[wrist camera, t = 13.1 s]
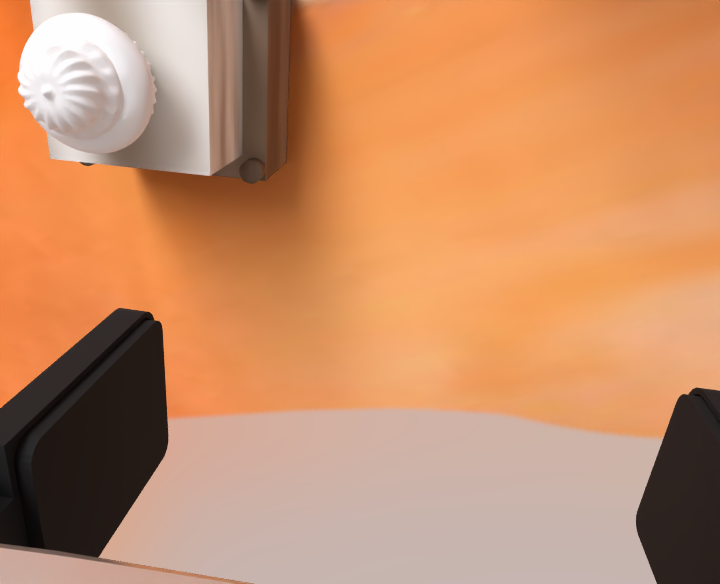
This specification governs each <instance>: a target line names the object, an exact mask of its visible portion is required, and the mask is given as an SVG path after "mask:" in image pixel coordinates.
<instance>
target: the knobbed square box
mask: <svg viewBox="0 0 720 584" xmlns="http://www.w3.org/2000/svg"><path fill="white" fill-rule="evenodd" d="M30 4H31V12H32V20H33V27H34V31H35V30H36V29H37V28H38V27H39V26H40V25H41V24H42V23H43V22H45V21H46V20H48V19H50V18H52V17H54V16H57V15H61V14H66V13H86V14H91V15H94V16H97V17H100V18H102V19H104V20H106V21H108V22H110V23H112V24H113V25H115V26H116V27H117V28H119V29H120V30H121V31H123V32H124V33H126V34H127V35H128V37H129V38H130V39H131V40H132V41H135V42H136V43H137V45H138V47H139V50H140V51H143V52H144V53H145V57H146V61H147V62H149V63H150V64H151V69H150V71H151V74H152V76H154V77H155V81H154V82H153V83H154V85H155V87H156V89H157V91H156V93H154V94H155V98H156V103H155V104H153V110H154V113H153V114H151V117H150V119H149V123H148V124H147V126H146V128H145V130H144V131H143V133H142V134H141V135H140V136H139V137H138V139H137V140H135V141H134V142H133V143H132V144H130V145H129V146H127V147H125V148H123V149H121V150H118V151H115V152H111V153H104V154H93V153H87V152H83V151H79V150H76V149H74V148H71V147H69V146H67V145H65V144H63V143H62V142H60V141H58V140H57V139H55V138H54V137H52V136H51V135H50V134H49V133H48V132H47V137H48V145H49V153H50V159H58V160H67V161H76V162H80V163H81V164H83V165H85V166H90V165H93V164H104V165H114V166H123V167H132V168H141V169H151V170H160V171H169V172H178V173H188V174H197V175H206V176H211V175H215V176H224V177H233V178H242V179H243V180H244V181H245V182H247V183H256V182H257V181H259V180H261V181H266V180H267V179H268V178H269V177H270V176H271V175H273V174H274V173H275V172H276V171H277V170H278V169H279V168H280V167H281V166H283V165H284V164H285V163H286V153H287V121H288V89H289V57H290V25H291V0H30Z"/></svg>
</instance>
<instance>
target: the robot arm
mask: <svg viewBox="0 0 720 584" xmlns="http://www.w3.org/2000/svg"><path fill="white" fill-rule="evenodd" d="M167 446H168V422H167V403H166V385H165V366H164V348H163V330H162V325H161V323H160V322H159V321H154V318H153V315H152V314H151V313H150V312H145V311H138V310H131V309H123V308H118V309H117V310H115V311H114V312H113V313H112V314H110V315H109V316H108V317H107V318H106V319H105V320H103V321H102V322H101V323H100V324H99V325H98V326H96V327H95V328H94V329H93V330H92V331H90V332H89V333H88V334H87V335H86V336H85V337H83V338H82V339H81V340H80V341H79V342H78V343H76V344H75V345H74V346H73V347H72V348H71V349H69V350H68V351H67V352H66V353H65V354H64V355H62V356H61V357H60V358H59V359H58V360H57V361H55V362H54V363H53V364H52V365H51V366H49V367H48V368H47V369H46V370H45V371H44V372H42V373H41V374H40V375H39V376H38V377H37V378H35V379H34V380H33V381H32V382H31V383H30V384H28V385H27V386H26V387H25V388H24V389H23V390H21V391H20V392H19V393H18V394H17V395H16V396H14V397H13V398H12V399H11V400H10V401H8V402H7V403H6V404H5V405H4V406H3V407H1V408H0V584H253V583H247V582H241V581H235V580H229V579H223V578H217V577H210V576H204V575H199V574H193V573H187V572H181V571H175V570H168V569H163V568H157V567H151V566H145V565H139V564H132V563H127V562H121V561H115V560H109V559H103V558H98V557H99V556H100V554H101V553H102V551H103V549H104V548H105V546H106V545H107V543H108V542H109V540H110V539H111V537H112V535H113V534H114V533H115V531H116V530H117V528H118V527H119V525H120V524H121V522H122V520H123V519H124V517H125V516H126V514H127V513H128V511H129V510H130V508H131V507H132V505H133V504H134V502H135V501H136V499H137V498H138V496H139V494H140V493H141V491H142V490H143V488H144V487H145V485H146V484H147V482H148V481H149V479H150V478H151V476H152V475H153V473H154V472H155V470H156V468H157V467H158V465H159V464H160V462H161V461H162V459H163V457H164V456H165V453H166V450H167ZM636 527H637V532H638V536H639V538H640V541H641V543H642V546H643V548H644V551H645V554H646V556H647V559H648V561H649V564H650V567H651V569H652V572H653V574H654V577H655V580H656V582H657V584H720V391H717V390H710V389H703V388H694V389H693V390H692V391H691V392H690V393H689V395H686V394H683V395H681V396H680V397H679V398H678V400H677V402H676V405H675V408H674V411H673V414H672V416H671V419H670V422H669V425H668V427H667V430H666V433H665V436H664V439H663V441H662V444H661V447H660V450H659V453H658V455H657V458H656V461H655V464H654V466H653V469H652V472H651V475H650V477H649V480H648V483H647V486H646V488H645V491H644V494H643V497H642V500H641V503H640V505H639V508H638V511H637V516H636Z"/></svg>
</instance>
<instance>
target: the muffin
mask: <svg viewBox="0 0 720 584" xmlns="http://www.w3.org/2000/svg"><path fill="white" fill-rule="evenodd" d="M150 69H151V64H150V63H149V62H147V61H146V57H145V53H144V52H143V51H140V50H139V47H138V45H137V43H136V42H135V41H132V40H131V39H130V38H129V37H128V35H127V34H126V33H124V32H123V31H121V30H120V29H119V28H117V27H116V26H115V25H113V24H112V23H110V22H108V21H106V20H104V19H102V18H100V17H97V16H94V15H91V14H86V13H66V14H61V15H57V16H54V17H52V18H50V19H48V20H46V21H45V22H43V23H42V24H41V25H40V26H39V27H38V28H37V29H36V30H35V31H34V32H33V33H32V35H31V36H30V38H29V39H28V41H27V43H26V45H25V47H24V50H23V53H22V56H21V60H20V68H19V73H18V80H19V82H20V84H21V85H20V87H19V89H18V92H19V94H20V95H21V96H22V97H24V99H25V103H24V107H25V108H26V109H29V110H30V111H31V113H32V115H33V116H34V118H35V120H36V121H37V122H38V123H39V124H40V125H41V126H42V128H43V129H44V130H45V131H47V132H48V133H49V134H50V135H51V136H52V137H54V138H55V139H57V140H58V141H60V142H62V143H63V144H65V145H67V146H69V147H71V148H74V149H76V150H79V151H83V152H87V153H93V154H104V153H111V152H115V151H118V150H121V149H123V148H125V147H127V146H129V145H130V144H132V143H133V142H134V141H135V140H137V139H138V137H139V136H140V135H141V134H142V133H143V131H144V130H145V128H146V126H147V124H148V123H149V119H150V117H151V114H153V113H154V110H153V104H155V103H156V98H155V94H154V93H156V91H157V89H156V87H155V85H154V83H153V82H154V81H155V77H154V76H152V74H151V71H150Z"/></svg>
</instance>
